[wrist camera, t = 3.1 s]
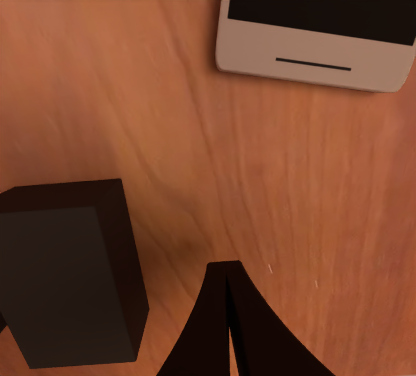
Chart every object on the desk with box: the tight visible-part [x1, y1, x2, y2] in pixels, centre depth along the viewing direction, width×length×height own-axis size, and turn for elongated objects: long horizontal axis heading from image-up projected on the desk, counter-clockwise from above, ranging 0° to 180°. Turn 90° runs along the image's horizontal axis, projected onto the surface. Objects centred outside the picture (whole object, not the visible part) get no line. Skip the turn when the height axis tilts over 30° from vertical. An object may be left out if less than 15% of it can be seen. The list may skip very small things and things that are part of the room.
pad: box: [0, 179, 149, 369], centre depth 11 cm, size 8×5×3 cm, turn 4°
